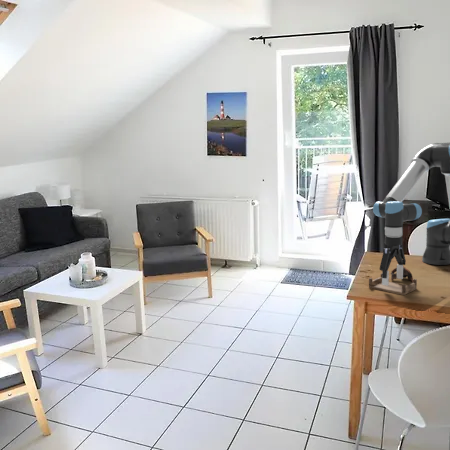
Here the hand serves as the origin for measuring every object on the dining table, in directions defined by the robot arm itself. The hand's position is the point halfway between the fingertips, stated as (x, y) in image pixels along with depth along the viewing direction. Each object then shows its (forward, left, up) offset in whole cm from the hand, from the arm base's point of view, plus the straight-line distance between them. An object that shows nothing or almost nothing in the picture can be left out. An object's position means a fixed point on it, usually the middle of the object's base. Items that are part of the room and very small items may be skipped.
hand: (392, 281), depth 222 cm
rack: (0, 0, -3) cm, 3 cm away
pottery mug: (-15, -1, -4) cm, 16 cm away
